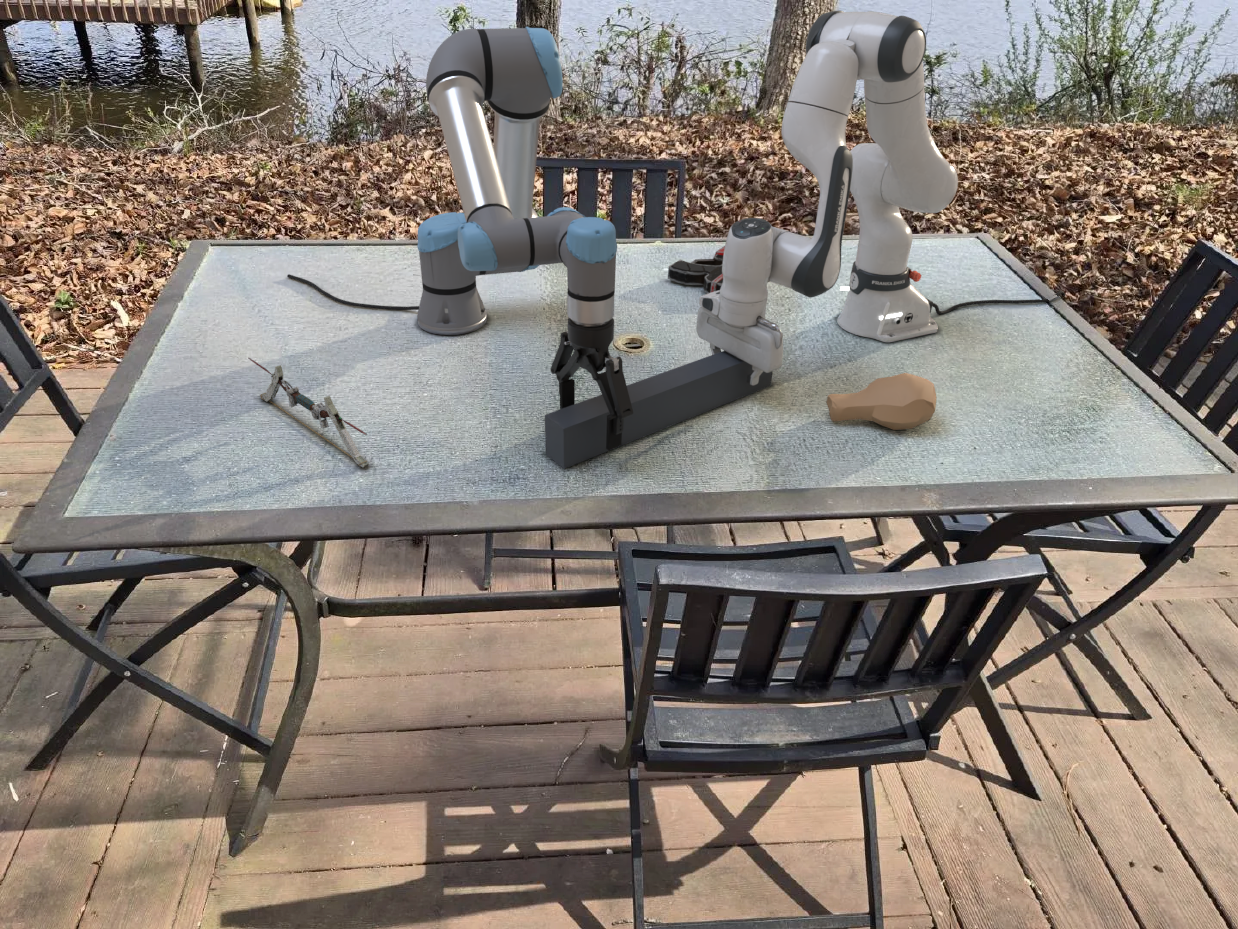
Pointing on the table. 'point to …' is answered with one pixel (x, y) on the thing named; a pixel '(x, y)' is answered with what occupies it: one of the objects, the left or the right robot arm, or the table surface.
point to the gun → (699, 272)
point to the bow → (313, 411)
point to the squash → (888, 402)
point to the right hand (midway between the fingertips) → (735, 374)
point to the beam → (650, 406)
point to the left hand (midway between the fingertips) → (589, 429)
